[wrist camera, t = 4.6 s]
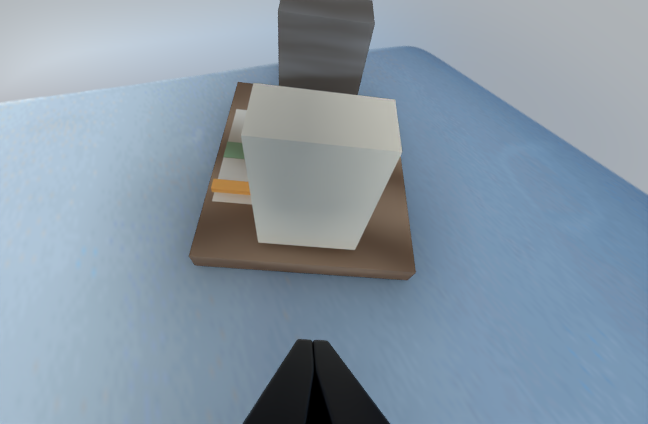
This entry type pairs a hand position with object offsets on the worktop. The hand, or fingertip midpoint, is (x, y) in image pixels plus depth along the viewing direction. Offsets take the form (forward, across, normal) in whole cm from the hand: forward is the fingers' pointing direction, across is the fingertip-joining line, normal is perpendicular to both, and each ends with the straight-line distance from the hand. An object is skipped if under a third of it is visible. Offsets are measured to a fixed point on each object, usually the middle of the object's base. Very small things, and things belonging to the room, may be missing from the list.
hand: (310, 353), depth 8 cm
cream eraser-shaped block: (+13, 0, -2) cm, 13 cm away
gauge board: (+18, 0, -3) cm, 18 cm away
